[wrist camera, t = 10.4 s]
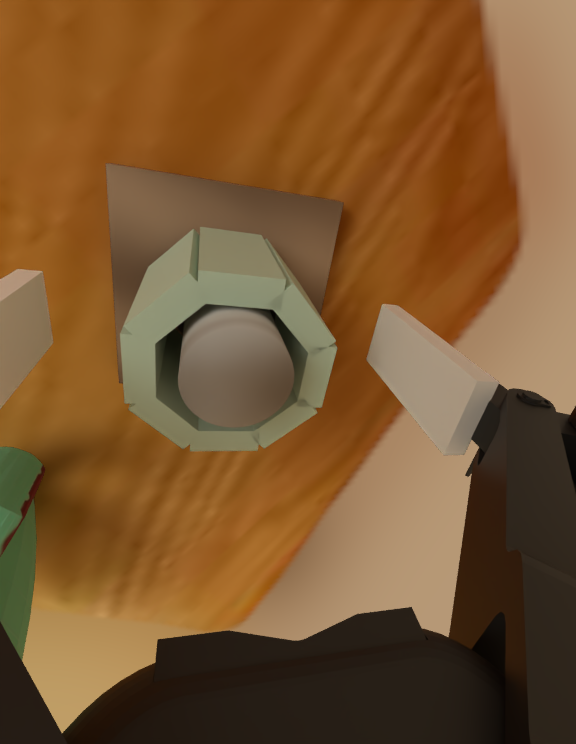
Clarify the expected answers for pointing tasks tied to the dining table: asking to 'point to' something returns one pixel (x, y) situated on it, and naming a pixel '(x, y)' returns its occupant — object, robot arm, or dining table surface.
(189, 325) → the shaft block
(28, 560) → the mug
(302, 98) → the dining table surface
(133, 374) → the pale green hollow tube
